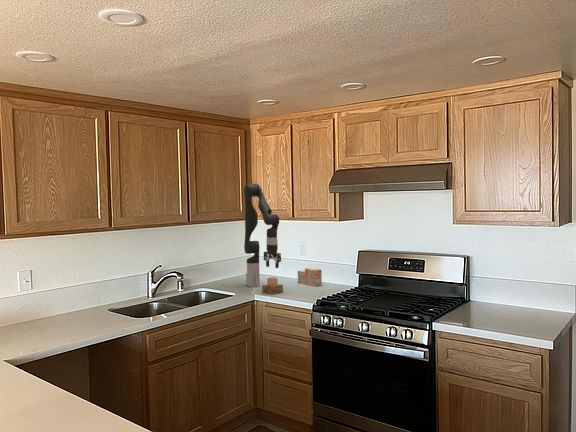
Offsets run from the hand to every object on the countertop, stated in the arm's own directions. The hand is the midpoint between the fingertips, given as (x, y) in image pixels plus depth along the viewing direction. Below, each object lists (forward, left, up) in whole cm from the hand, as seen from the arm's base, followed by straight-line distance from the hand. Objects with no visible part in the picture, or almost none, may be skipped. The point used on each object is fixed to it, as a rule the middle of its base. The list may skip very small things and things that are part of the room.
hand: (272, 267), depth 332 cm
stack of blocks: (+1, +38, -18) cm, 42 cm away
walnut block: (0, 0, -17) cm, 17 cm away
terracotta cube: (0, 0, -12) cm, 12 cm away
